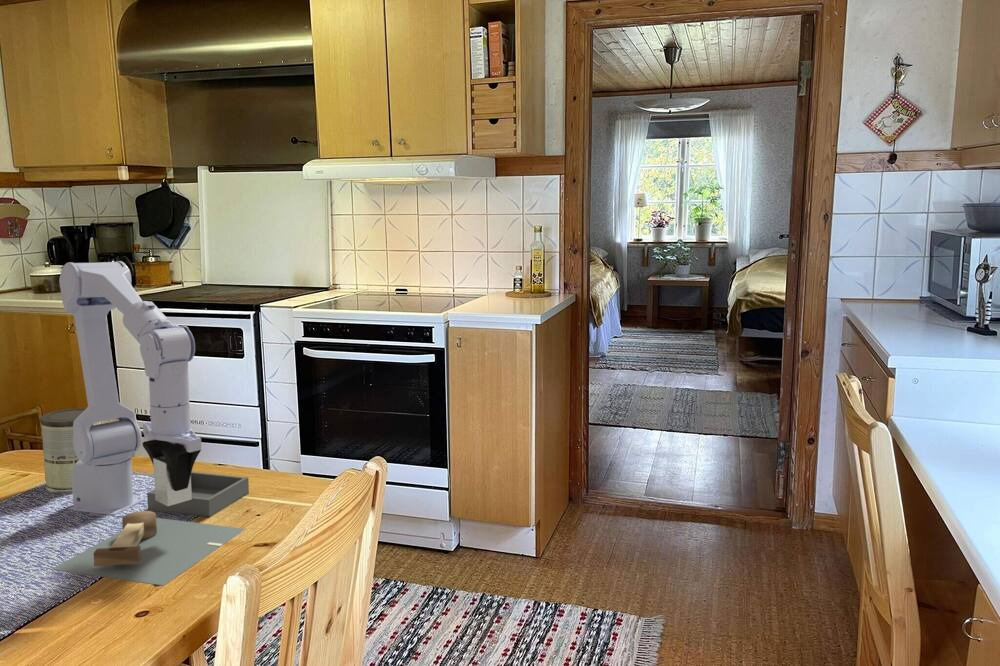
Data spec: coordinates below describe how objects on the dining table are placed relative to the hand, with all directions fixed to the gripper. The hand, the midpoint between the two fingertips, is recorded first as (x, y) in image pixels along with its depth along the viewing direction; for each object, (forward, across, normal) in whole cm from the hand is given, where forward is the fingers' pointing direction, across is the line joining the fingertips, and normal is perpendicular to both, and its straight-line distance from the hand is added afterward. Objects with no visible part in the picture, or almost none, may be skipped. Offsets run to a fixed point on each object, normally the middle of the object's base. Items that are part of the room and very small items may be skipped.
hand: (173, 485), depth 123 cm
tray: (+9, -12, +11) cm, 19 cm away
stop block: (+2, 0, 0) cm, 2 cm away
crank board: (+9, +1, -4) cm, 10 cm away
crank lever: (+9, -1, -7) cm, 11 cm away
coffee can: (+10, -39, +1) cm, 41 cm away
